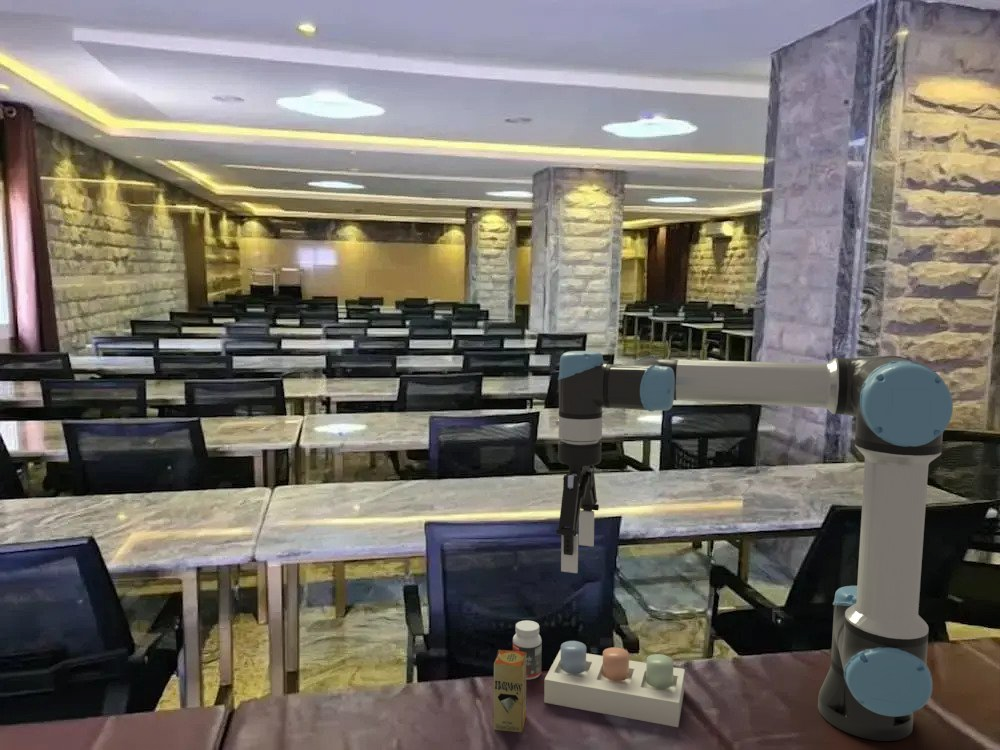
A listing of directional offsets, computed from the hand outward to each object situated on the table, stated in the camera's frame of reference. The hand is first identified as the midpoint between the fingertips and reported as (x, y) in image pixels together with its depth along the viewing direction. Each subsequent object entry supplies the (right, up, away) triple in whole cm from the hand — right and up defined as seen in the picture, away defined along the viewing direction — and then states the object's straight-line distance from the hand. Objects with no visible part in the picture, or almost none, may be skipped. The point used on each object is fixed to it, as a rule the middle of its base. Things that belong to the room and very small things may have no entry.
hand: (578, 557), depth 130 cm
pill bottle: (-9, -27, +15) cm, 32 cm away
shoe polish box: (-12, -29, -2) cm, 31 cm away
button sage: (+15, -23, +3) cm, 28 cm away
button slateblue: (0, -23, +8) cm, 24 cm away
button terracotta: (+8, -23, +6) cm, 25 cm away
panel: (+8, -27, +6) cm, 29 cm away
